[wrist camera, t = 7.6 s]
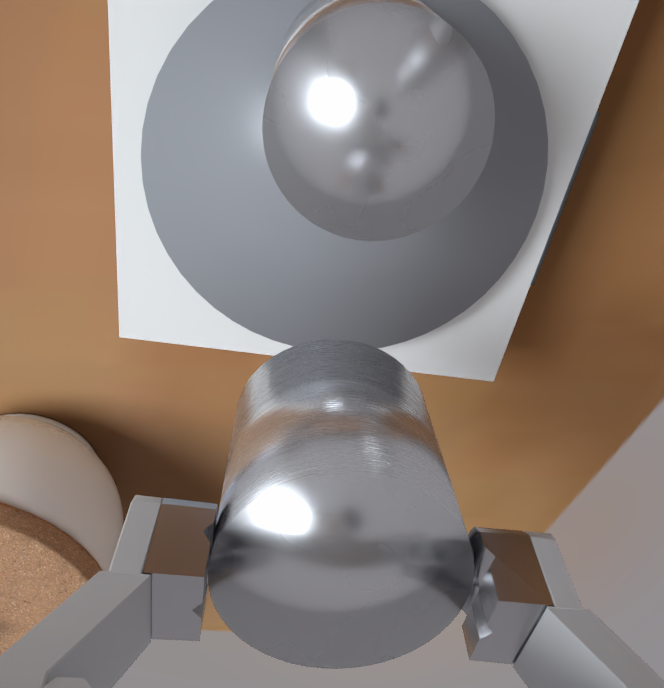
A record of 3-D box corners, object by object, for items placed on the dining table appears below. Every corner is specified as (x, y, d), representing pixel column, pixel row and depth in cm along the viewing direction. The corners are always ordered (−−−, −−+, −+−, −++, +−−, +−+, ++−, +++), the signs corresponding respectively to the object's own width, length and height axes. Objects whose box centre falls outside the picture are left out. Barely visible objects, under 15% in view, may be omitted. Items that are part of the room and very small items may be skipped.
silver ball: (286, -36, 16) (275, -19, 11) (473, -1, 16) (527, 27, 12) (267, 155, 18) (252, 225, 14) (427, 179, 19) (459, 254, 15)
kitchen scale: (133, -142, 17) (92, -155, 14) (625, -45, 19) (686, -38, 16) (139, 295, 25) (113, 349, 22) (487, 339, 27) (510, 396, 23)
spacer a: (244, 327, 14) (218, 461, 10) (445, 351, 15) (505, 489, 11) (227, 490, 17) (199, 660, 12) (405, 506, 17) (440, 676, 13)
